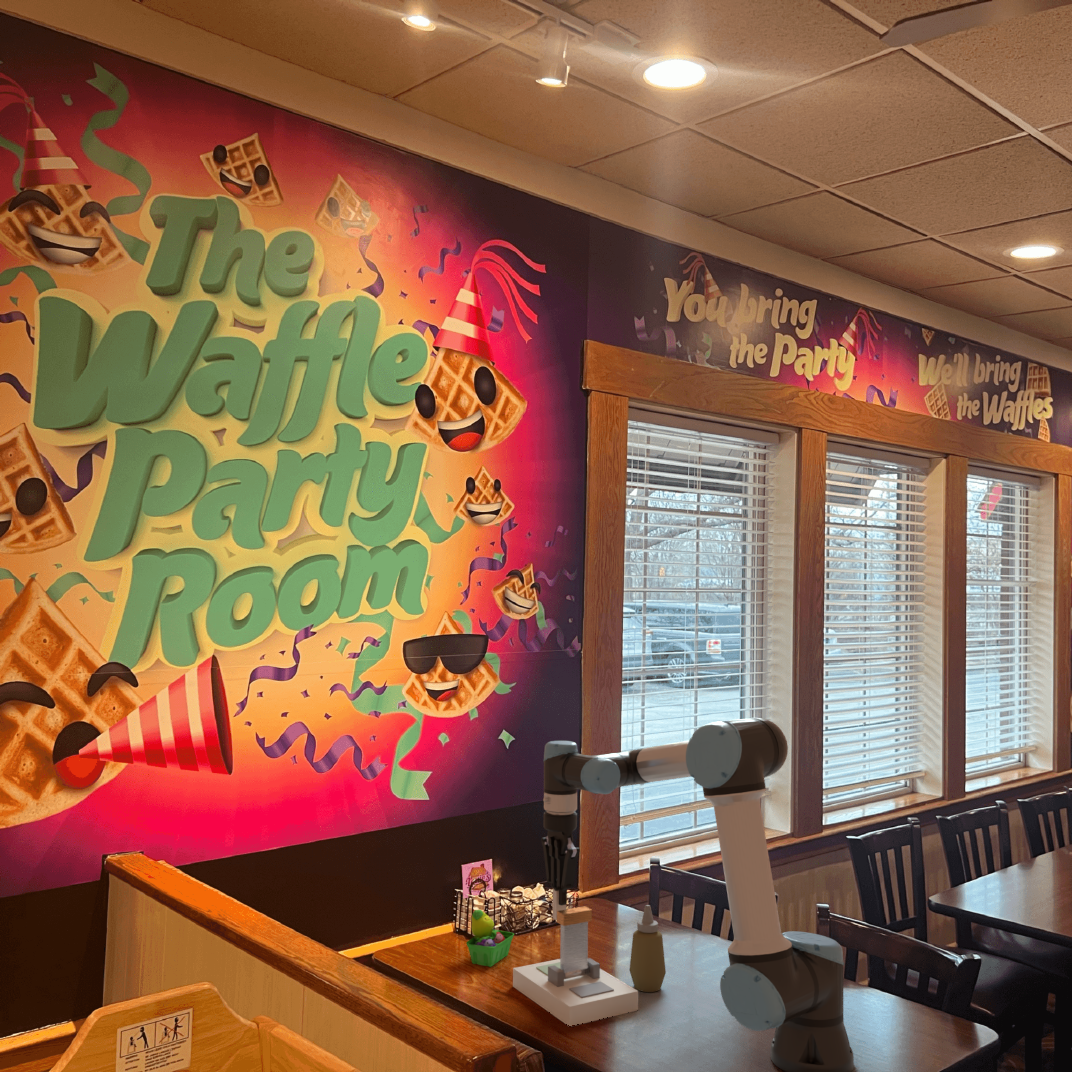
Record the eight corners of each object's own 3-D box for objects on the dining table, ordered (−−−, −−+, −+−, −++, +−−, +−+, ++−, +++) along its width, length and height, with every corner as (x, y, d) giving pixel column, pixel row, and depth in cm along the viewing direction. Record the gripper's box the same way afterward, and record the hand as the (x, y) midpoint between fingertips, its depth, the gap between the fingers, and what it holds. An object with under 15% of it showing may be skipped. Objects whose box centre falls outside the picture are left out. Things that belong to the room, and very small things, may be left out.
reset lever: (591, 976, 222) (591, 909, 223) (563, 982, 218) (563, 914, 219) (584, 971, 224) (584, 906, 225) (556, 977, 221) (556, 911, 221)
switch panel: (638, 1010, 215) (638, 976, 215) (569, 1026, 206) (569, 991, 207) (577, 972, 236) (577, 942, 236) (512, 986, 227) (513, 954, 228)
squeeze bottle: (664, 996, 222) (664, 912, 223) (627, 993, 224) (627, 909, 225) (667, 982, 230) (667, 901, 231) (631, 979, 232) (631, 899, 233)
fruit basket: (493, 970, 237) (493, 920, 238) (460, 963, 241) (460, 915, 242) (515, 954, 247) (515, 907, 248) (483, 948, 251) (483, 902, 252)
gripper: (531, 807, 232) (530, 912, 231) (561, 818, 221) (560, 929, 220) (559, 804, 236) (558, 907, 235) (590, 815, 225) (589, 924, 223)
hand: (559, 918), depth 227 cm, fingers closed
